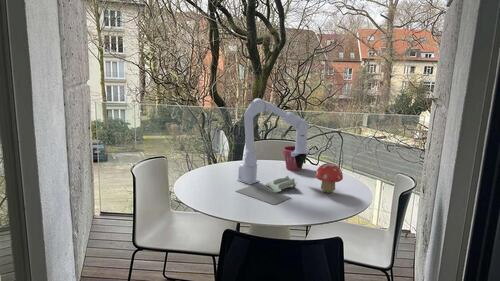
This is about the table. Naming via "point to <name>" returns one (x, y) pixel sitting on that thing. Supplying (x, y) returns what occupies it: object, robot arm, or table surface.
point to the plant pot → (290, 158)
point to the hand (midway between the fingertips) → (299, 167)
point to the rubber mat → (263, 194)
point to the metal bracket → (281, 184)
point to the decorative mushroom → (329, 176)
